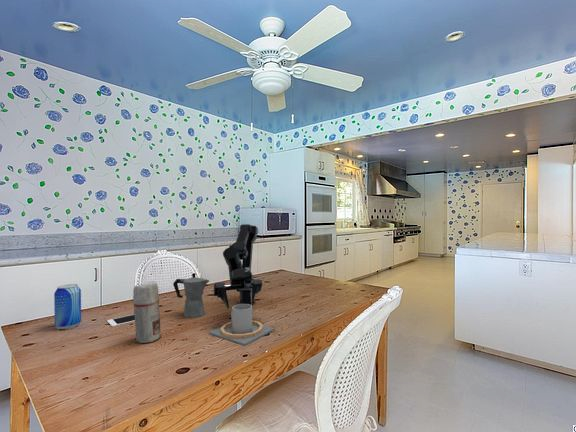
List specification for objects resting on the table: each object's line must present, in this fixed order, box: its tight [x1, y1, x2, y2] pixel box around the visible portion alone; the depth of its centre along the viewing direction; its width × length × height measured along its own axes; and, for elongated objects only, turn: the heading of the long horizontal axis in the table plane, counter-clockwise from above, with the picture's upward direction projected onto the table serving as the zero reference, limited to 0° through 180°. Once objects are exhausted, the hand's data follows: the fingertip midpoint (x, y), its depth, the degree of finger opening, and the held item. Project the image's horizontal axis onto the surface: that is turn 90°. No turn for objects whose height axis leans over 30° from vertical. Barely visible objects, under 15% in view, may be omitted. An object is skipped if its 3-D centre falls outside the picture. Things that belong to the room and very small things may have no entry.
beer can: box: [53, 283, 82, 330], centre depth 118 cm, size 8×8×16 cm
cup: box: [230, 304, 253, 334], centre depth 110 cm, size 7×10×9 cm
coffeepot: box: [172, 272, 210, 319], centre depth 130 cm, size 15×9×18 cm, turn 92°
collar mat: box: [208, 319, 276, 347], centre depth 110 cm, size 18×16×2 cm
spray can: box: [132, 280, 162, 344], centre depth 105 cm, size 8×8×20 cm
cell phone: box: [106, 313, 135, 328], centre depth 126 cm, size 9×18×1 cm, turn 133°
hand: (240, 306), depth 113 cm, fingers open, 9 cm apart
